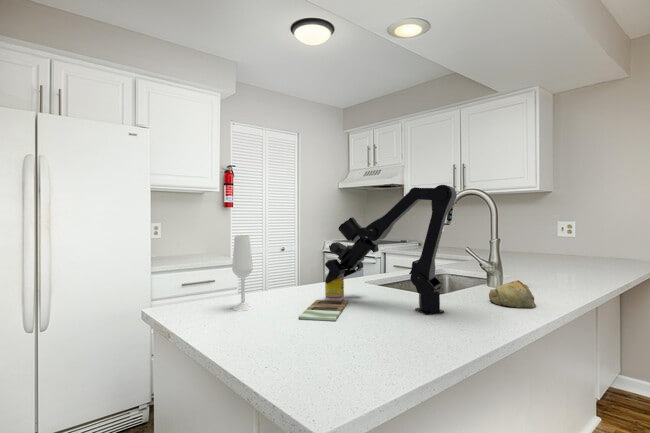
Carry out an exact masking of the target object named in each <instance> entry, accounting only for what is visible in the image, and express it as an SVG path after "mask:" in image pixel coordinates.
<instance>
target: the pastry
mask: <svg viewBox="0 0 650 433" xmlns="http://www.w3.org/2000/svg"><path fill="white" fill-rule="evenodd" d="M489 290H490V291H489V293H488V299H489V301H490V302H492V303H493V304H496V305H497V306H498V305H499V306H502V307H503V306H504V307H505V306H506V307H511V308H512V307H513V308H516V309H535V308H536V306H537V304H536V303H535V296H534V295H533V293H532V291H531V290H530V289H529V286H528V285H527V284H526V283H525V284H524V283H523V282H522V281H520V280H519V279H517V280H514V281H509V282H507V283H503V284H501V285H498V286H495V288H494V289H489Z"/></svg>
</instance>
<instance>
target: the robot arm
mask: <svg viewBox="0 0 650 433" xmlns="http://www.w3.org/2000/svg"><path fill="white" fill-rule="evenodd" d="M457 195H458V194H457V191H456V189H455V188H454V187H452V186H450V185H447V184H439V185H437V186H435V187H416V186H415V187H412V188H410V189H409V191H408V192H407V193H406V194H405V195H404V196H403V197H402V198H401V199H400V200H399V201H398V202H397V203H395V204H394V205H393V206H392V207H391V209H389V211H387V212H386V213H385V214H384V215H382V216H381V217H379V218H376V219H375V220H374V221H373V222H371V223H369V224H368V225H366V226H365V227H362V226H361V225H360V224H359V223H358V222H357V220H356V219H355V218H354V217H349V219H347V220H345V221H344V222H343V223H341V224H340V225H339V226H338V231H339V232H340V233H341V235H342V236H343V237H344V238H345V239H346V240H347V242H352V243H353V245H351V246H350V247H348V246H347V245H345V244H343V243H341V242H339V241H335V242H331V244H330V245H329V246H328V247H329V252H330V253H332V254H334V255H336V256H338V257H337V259H335V258H333V259H328V260H326V262H325V264H324V266H325V267H326V268H327V270H328V269H329V273H328V275H327V278H326V280H325V279H324V283H325V282H326V283H330V282H332V281H334V280H336V279H338V278H340V277H342V275H343V274H344V278H346V277H348V276H351V275H353V274H355V273H357V272H360V271H361V270H362V269H364V263H363V261H364V260H365V257H366V256H367V255H368V254H369V253H370V252H372V253H378V252H379V251H380V249H379V244H378V243H375V242H374V241H381V240H384V239H385V238H386V237H387V236H388V235H389V233H390V232H391V231H392V229H393V227H394V225H395V224H396V223H398V221H399V220H400V219H401V218H403V217H404V216H405V215H406V214H407V213H408V212H409V211H410V210H411V209H412V208H413V207H415V206H416V205H417V204H418V203H419V202H420V201H423V200H424V201H431V203H430V204H431V216H430V221H429V224H428V227H427V232H426V235H425V239H424V243H423V246H422V251H421V254H420V257H419V259H417V260H414V261H412V263H411V268H410V272H409V273H408V275H410V281H411V283H412V284H413V286H414V287H415V290H416V292H417V294H418V307H415V311H416V312H417V311H418V312H420V313H422V314H424V315H436V314H444V313H445V310H442V309H441V298H440V295H441V293H440V290H441V288H442V286H443V283H442V282H441V281H440V280H439V279H438V278H437V277H436V256H437V253H438V248H439V244H440V243H441V242H440V241H441V237H442V233H443V230H444V227H445V224H446V218H447V215H448V214H449V213H450V211H451V209H452V208H453V206H454V203H455V201H456V199H457Z"/></svg>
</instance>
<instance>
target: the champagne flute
mask: <svg viewBox="0 0 650 433" xmlns="http://www.w3.org/2000/svg"><path fill="white" fill-rule="evenodd" d="M233 241H234V242H233V251H232V265H231V266H232V267H231V271H232V273H233V274H234V275H235V276H236V277H237V278H239V279H240V295H241V296H240V299H241V300H240V301H241V302H240V303H238V304H237V305H236V306H234V307H233V308H232V310H234V311H239V312H240V311H241V312H242V311H249V310H252V309H254V306H253V305H250V304H249V303H248V302H246V294H245V293H246V292H245V291H246V290H245V288H246V287H245V286H246V284H245V283H246V282H245V279H246V278H247V277H248V276H250V275H251V273H252V272H253V269H254V267H253V256H252V249H251V248H252V246H251V237H250V234H240V235H238V234H237V235H234V239H233Z"/></svg>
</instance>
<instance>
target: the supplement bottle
mask: <svg viewBox="0 0 650 433" xmlns="http://www.w3.org/2000/svg"><path fill="white" fill-rule="evenodd" d="M328 273H329V269H328V268H327V271H325V274H324V289H325V290H324V292H325V293H324V296H325V300H336V301H344V299H345V297H344V296H345V292H344V291H345V286H344V285H345V283H344V282H345V281H344V278H345V277H344V274H343V275H342V277H340V278H338V279H336V280H334V281H332V282H330V283H326V282H325V280H326V278H327V275H328Z"/></svg>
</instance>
